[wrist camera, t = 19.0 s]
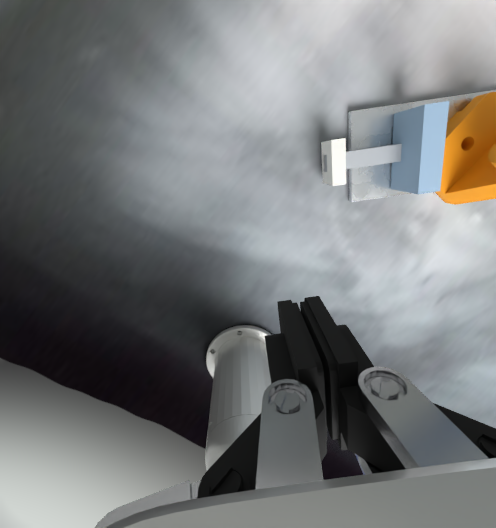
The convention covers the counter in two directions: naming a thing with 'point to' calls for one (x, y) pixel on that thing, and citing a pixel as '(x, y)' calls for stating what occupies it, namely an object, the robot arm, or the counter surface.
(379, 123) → the vise
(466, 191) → the bracket
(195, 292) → the counter surface
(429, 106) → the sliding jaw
